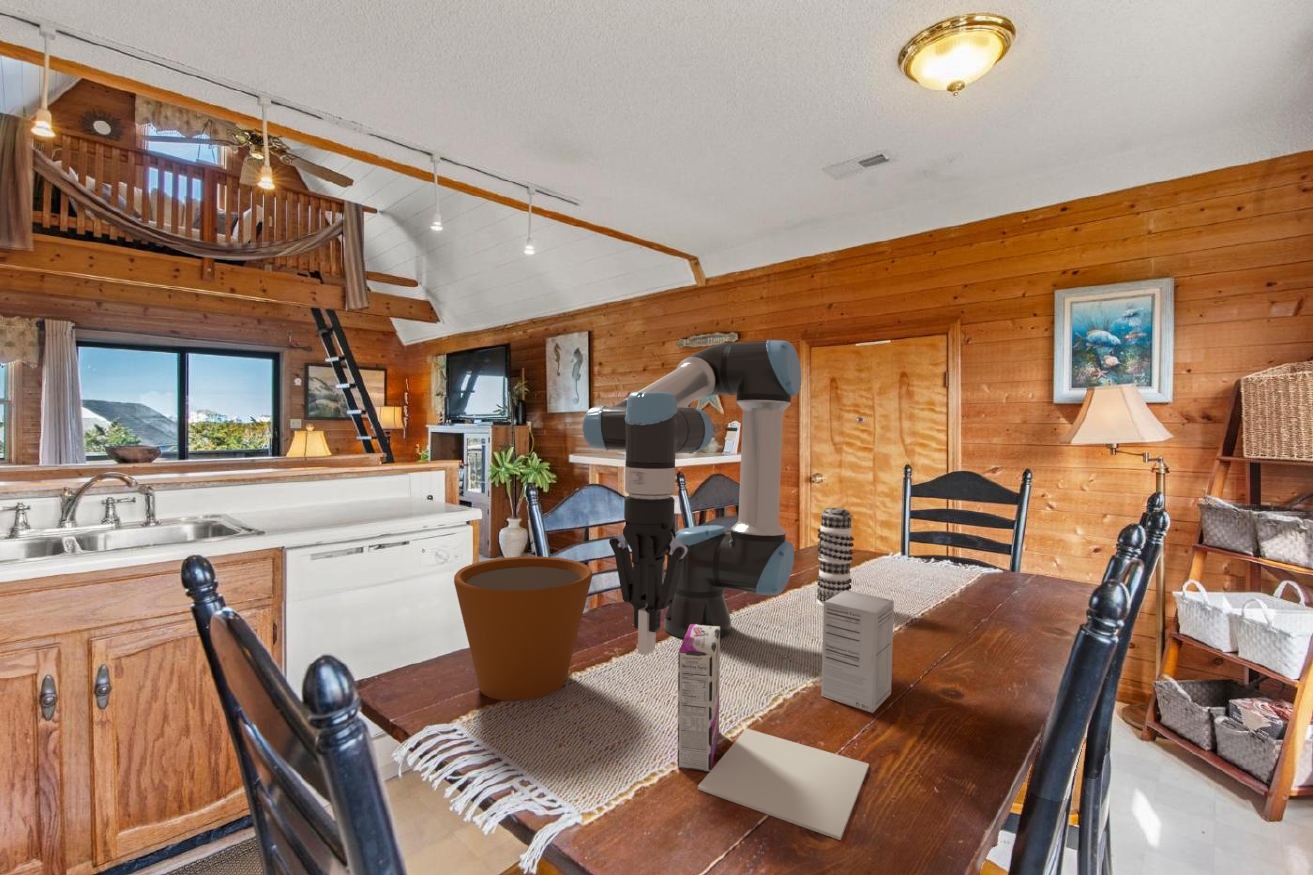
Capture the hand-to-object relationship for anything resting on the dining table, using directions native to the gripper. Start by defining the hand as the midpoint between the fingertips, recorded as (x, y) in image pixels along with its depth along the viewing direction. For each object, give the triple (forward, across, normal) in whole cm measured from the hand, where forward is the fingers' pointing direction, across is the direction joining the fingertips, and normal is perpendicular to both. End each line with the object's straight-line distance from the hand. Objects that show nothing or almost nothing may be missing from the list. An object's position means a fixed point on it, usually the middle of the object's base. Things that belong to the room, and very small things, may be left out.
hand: (646, 651), depth 91 cm
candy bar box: (+13, +9, 0) cm, 16 cm away
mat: (+12, +22, 0) cm, 25 cm away
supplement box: (+13, +25, +30) cm, 41 cm away
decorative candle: (+13, +9, +81) cm, 82 cm away
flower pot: (+13, -27, +3) cm, 30 cm away
